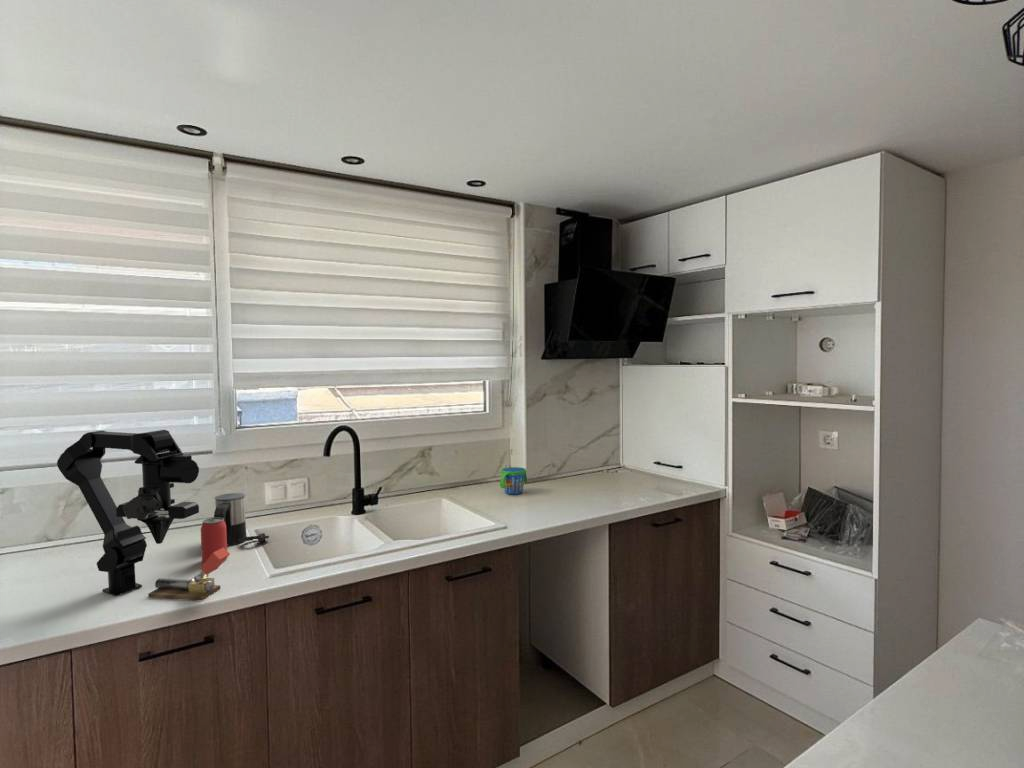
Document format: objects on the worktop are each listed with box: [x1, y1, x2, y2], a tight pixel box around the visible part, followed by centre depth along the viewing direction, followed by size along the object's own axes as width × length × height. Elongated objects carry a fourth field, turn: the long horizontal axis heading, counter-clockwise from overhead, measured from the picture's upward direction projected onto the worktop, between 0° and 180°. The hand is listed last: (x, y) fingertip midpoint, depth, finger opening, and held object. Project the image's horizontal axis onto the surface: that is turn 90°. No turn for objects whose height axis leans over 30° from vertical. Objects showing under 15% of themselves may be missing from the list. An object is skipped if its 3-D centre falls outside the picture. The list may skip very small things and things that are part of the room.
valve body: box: [154, 577, 215, 594], centre depth 144 cm, size 14×4×3 cm, turn 81°
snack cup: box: [499, 466, 528, 496], centre depth 243 cm, size 16×10×10 cm
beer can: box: [200, 517, 228, 564], centre depth 166 cm, size 7×7×12 cm
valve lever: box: [193, 547, 231, 582], centre depth 142 cm, size 2×4×9 cm
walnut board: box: [147, 584, 221, 601], centre depth 144 cm, size 14×7×1 cm, turn 81°
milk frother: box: [213, 492, 270, 546], centre depth 183 cm, size 14×16×15 cm
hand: (159, 543), depth 143 cm, fingers closed
